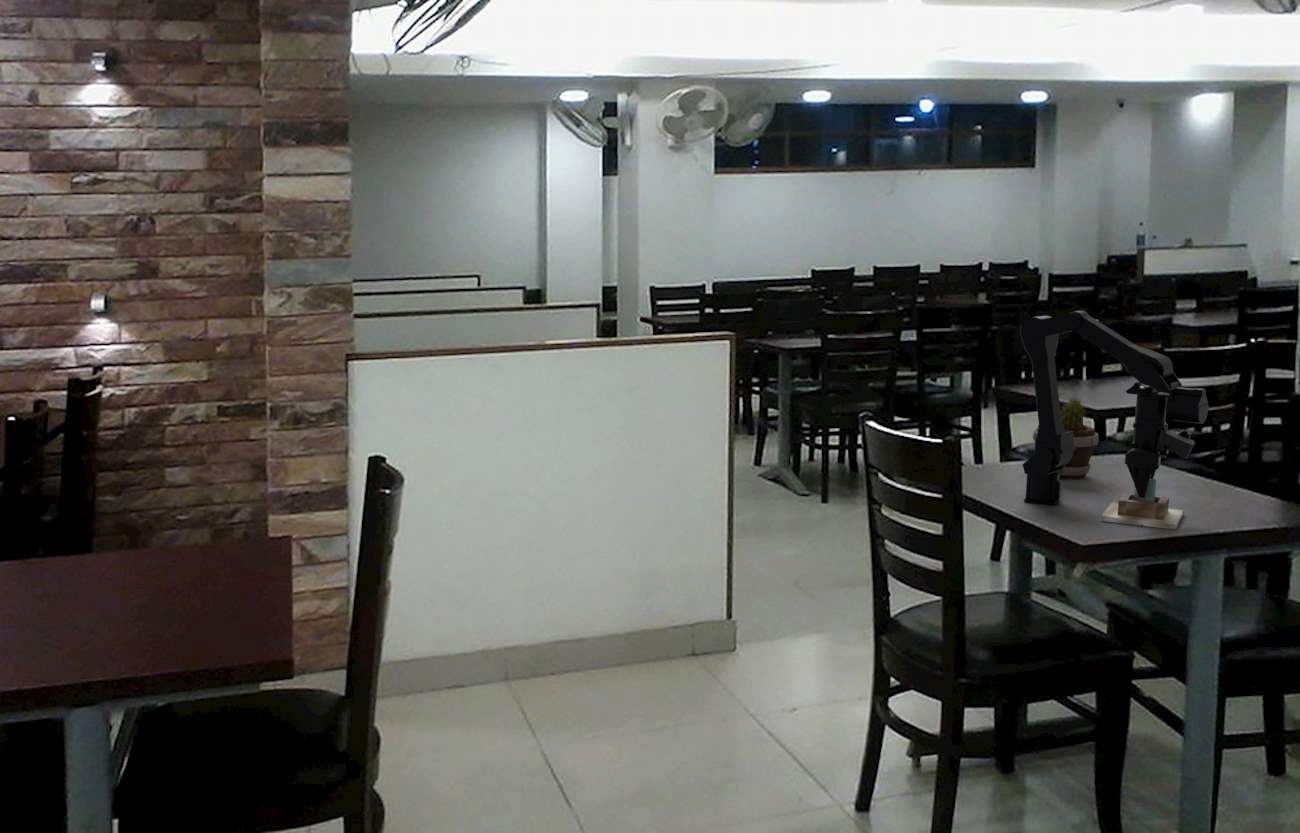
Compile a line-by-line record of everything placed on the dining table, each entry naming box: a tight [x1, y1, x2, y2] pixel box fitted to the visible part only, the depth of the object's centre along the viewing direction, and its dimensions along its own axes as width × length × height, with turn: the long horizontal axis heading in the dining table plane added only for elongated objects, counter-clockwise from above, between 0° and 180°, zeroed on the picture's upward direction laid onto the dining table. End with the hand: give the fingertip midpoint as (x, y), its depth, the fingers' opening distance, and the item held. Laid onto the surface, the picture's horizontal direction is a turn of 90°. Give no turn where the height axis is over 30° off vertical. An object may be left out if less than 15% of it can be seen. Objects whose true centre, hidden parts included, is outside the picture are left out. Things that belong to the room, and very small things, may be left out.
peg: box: [1133, 478, 1157, 503], centre depth 260 cm, size 4×4×7 cm
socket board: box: [1100, 491, 1185, 530], centre depth 261 cm, size 14×14×4 cm
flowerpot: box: [1032, 394, 1100, 481], centre depth 300 cm, size 14×15×20 cm
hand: (1144, 493), depth 260 cm, fingers open, 7 cm apart
